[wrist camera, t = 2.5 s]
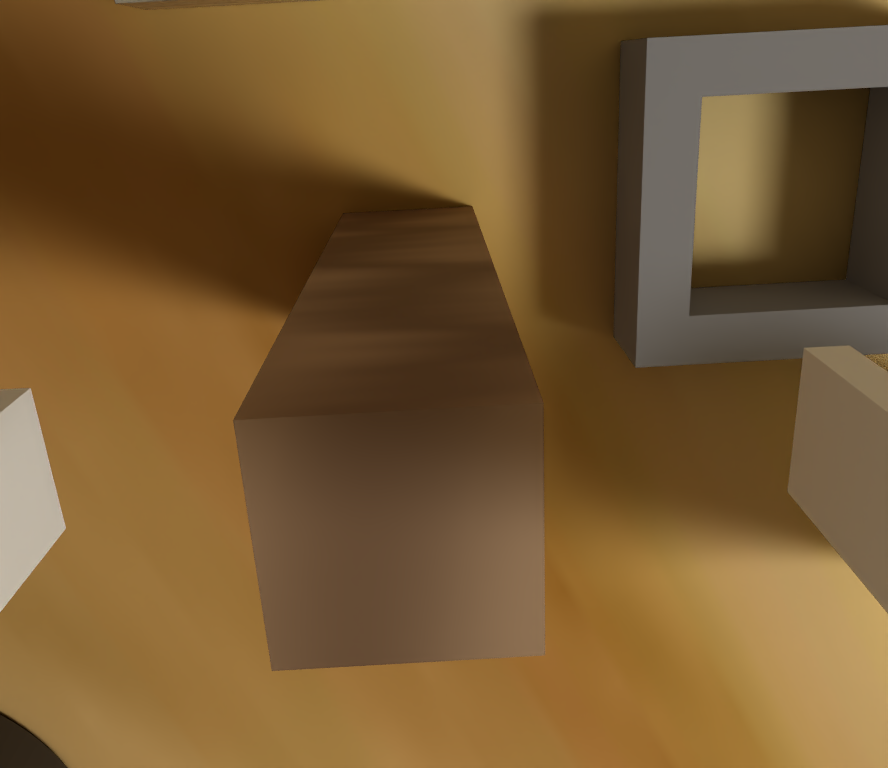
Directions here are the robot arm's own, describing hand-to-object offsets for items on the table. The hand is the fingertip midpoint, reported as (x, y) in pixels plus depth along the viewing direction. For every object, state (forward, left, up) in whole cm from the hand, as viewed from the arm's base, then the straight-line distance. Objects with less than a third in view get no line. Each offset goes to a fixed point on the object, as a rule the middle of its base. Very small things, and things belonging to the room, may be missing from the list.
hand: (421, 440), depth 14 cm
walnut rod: (0, 0, -13) cm, 13 cm away
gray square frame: (+11, +2, -13) cm, 17 cm away
